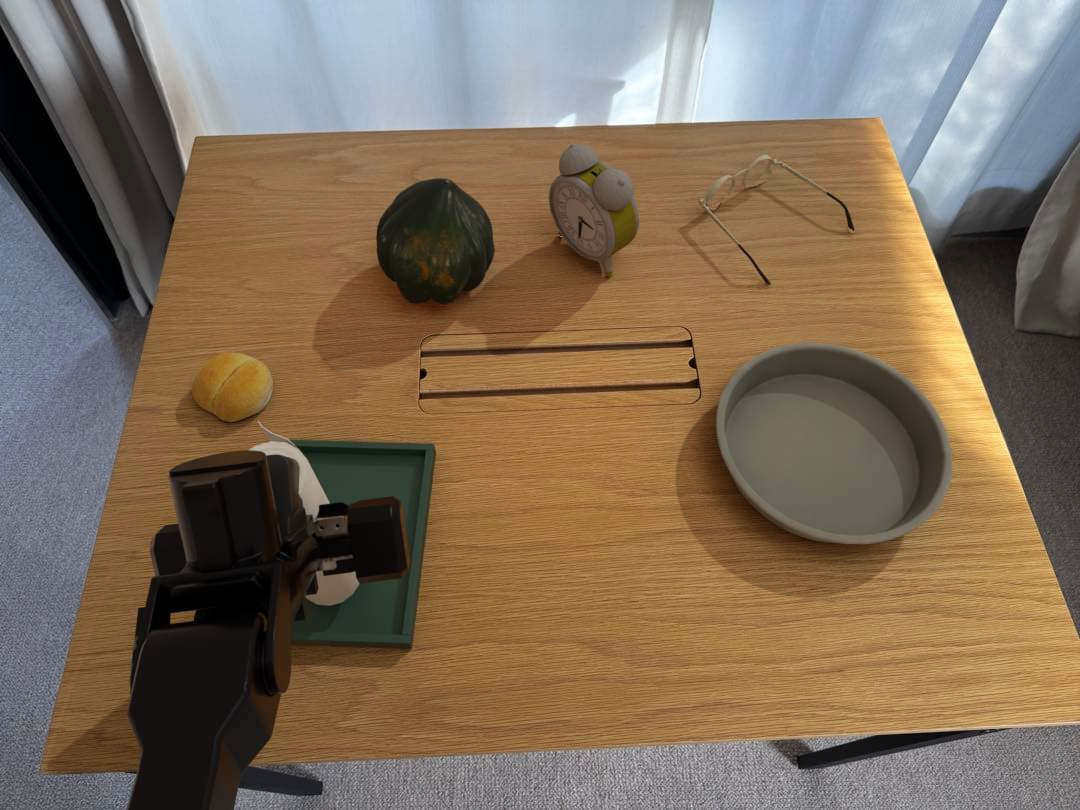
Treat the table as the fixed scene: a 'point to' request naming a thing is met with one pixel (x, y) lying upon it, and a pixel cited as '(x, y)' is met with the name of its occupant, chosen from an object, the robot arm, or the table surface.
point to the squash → (435, 242)
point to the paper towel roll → (313, 495)
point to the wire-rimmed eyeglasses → (768, 171)
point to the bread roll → (232, 386)
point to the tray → (407, 475)
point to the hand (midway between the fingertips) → (306, 515)
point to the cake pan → (833, 444)
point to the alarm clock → (593, 205)
